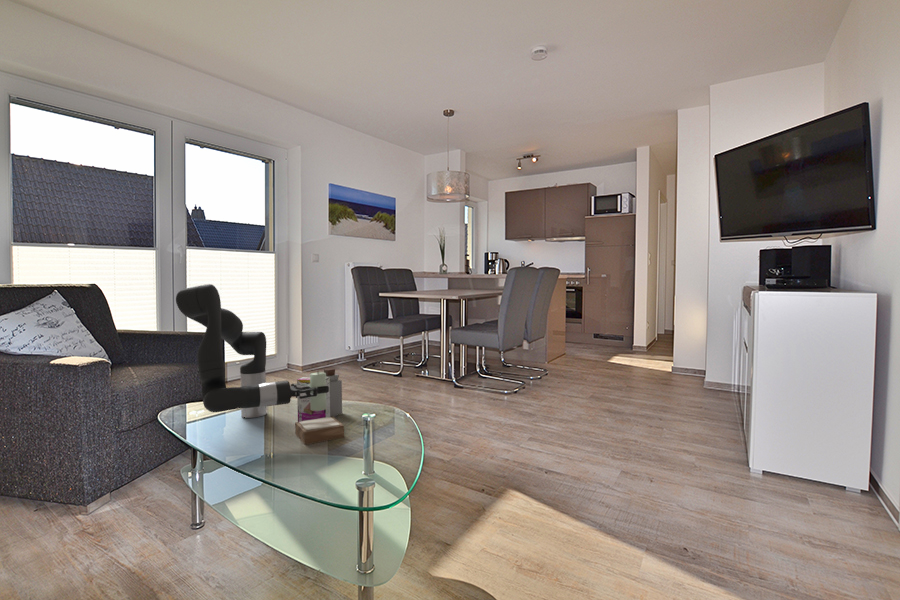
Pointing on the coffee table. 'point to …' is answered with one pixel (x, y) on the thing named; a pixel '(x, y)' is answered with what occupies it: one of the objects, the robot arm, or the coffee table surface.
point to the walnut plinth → (319, 430)
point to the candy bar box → (305, 408)
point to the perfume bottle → (334, 392)
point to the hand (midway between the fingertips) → (325, 387)
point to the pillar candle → (319, 400)
